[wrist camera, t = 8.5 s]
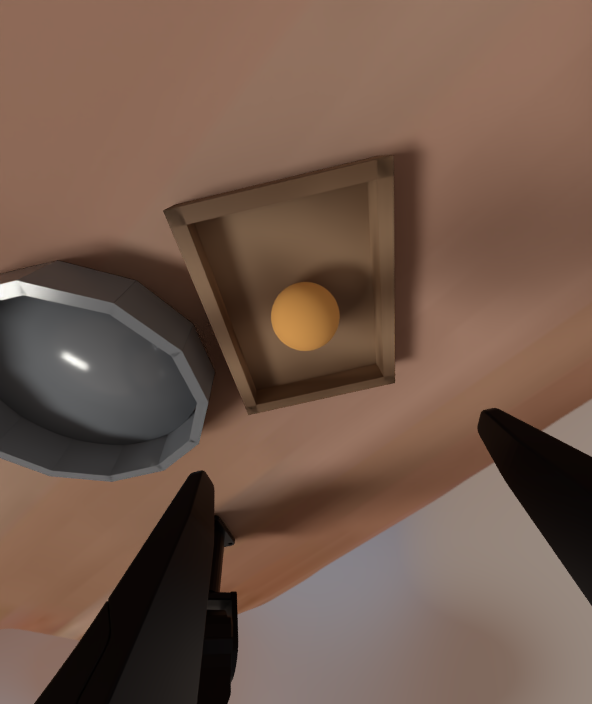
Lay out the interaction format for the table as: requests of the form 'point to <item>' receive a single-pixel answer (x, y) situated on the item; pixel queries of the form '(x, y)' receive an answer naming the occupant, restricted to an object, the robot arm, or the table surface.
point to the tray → (297, 277)
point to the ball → (305, 316)
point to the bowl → (96, 375)
